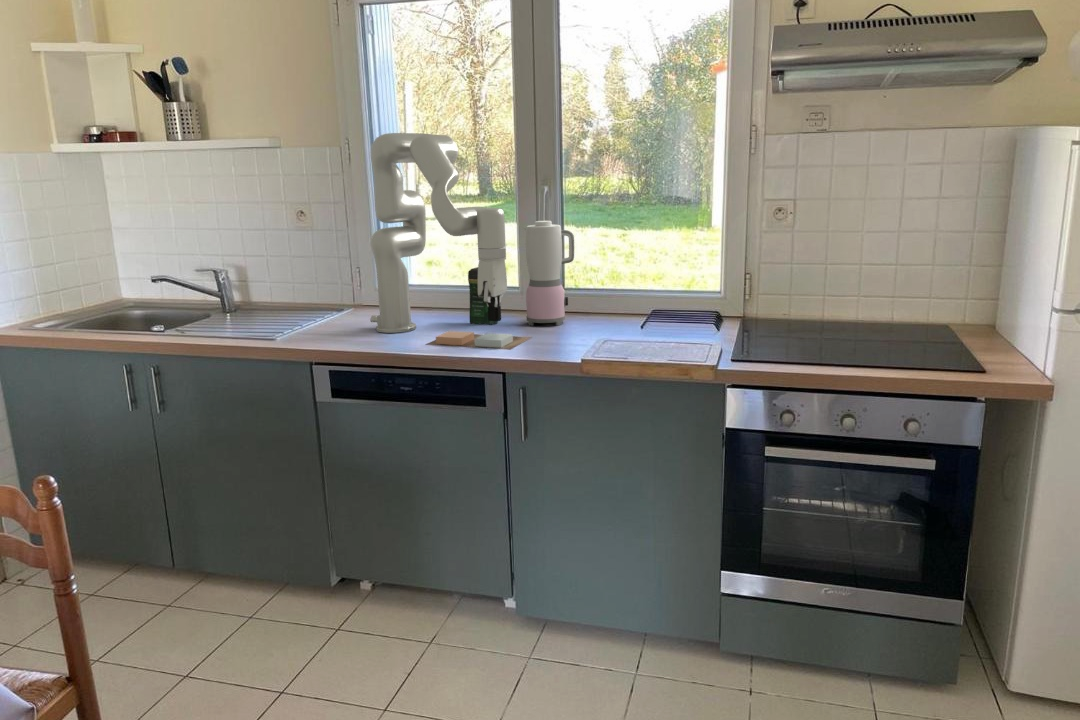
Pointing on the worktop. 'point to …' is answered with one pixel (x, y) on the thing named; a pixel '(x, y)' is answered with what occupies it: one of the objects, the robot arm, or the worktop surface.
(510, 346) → the walnut board
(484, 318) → the coffee jar
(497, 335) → the grey-blue tile
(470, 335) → the terracotta tile
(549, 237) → the blender
